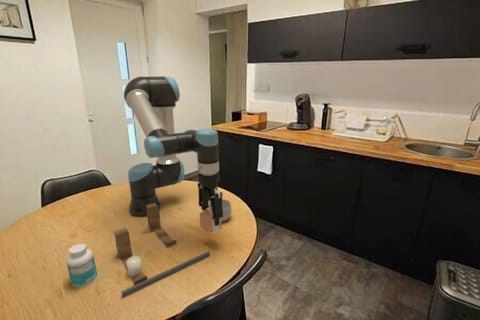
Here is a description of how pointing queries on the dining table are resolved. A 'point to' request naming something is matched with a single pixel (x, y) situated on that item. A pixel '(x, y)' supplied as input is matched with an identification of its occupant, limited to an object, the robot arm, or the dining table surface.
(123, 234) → the brown l-shaped bracket
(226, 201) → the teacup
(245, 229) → the dining table surface
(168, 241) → the brown l-shaped block
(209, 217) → the cube
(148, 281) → the bar
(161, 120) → the robot arm
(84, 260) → the pill bottle
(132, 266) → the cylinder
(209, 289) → the dining table surface
